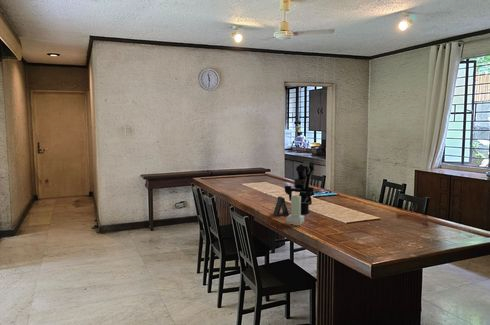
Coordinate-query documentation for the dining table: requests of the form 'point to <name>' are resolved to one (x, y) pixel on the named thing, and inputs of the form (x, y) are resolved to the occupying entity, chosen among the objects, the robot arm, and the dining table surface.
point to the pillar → (296, 206)
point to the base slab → (294, 223)
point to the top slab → (295, 218)
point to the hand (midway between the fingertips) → (297, 201)
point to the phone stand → (278, 206)
